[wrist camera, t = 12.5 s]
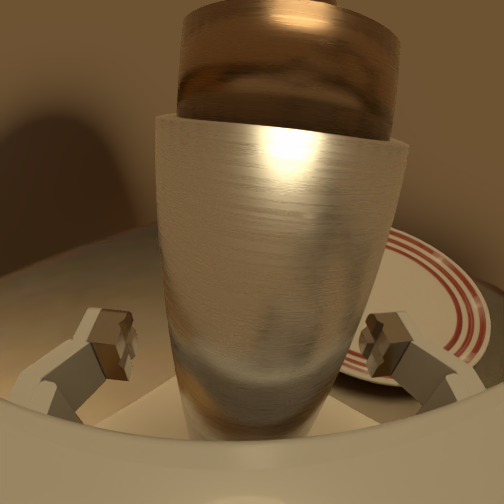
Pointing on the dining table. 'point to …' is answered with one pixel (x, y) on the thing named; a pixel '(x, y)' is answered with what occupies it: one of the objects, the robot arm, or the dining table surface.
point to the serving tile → (174, 425)
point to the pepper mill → (273, 207)
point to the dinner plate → (425, 303)
